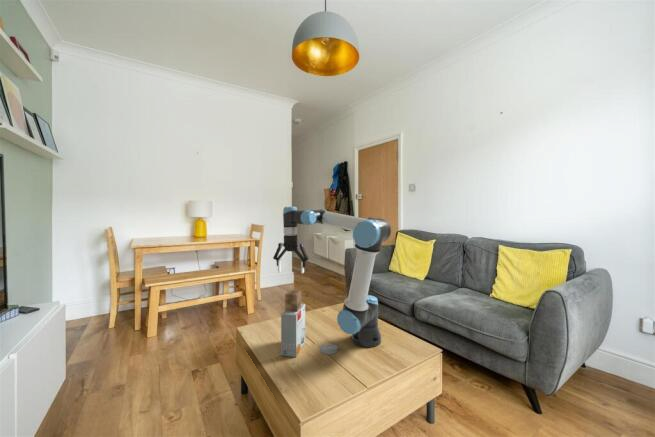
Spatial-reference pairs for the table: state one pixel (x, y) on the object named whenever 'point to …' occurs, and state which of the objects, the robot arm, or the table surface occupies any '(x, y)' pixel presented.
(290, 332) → the hard drive box
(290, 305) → the walnut block
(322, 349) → the slate coaster
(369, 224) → the robot arm
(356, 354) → the table surface
